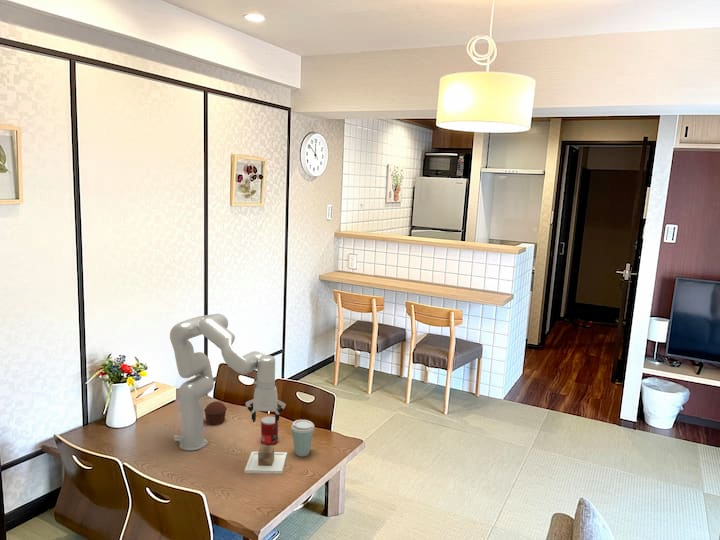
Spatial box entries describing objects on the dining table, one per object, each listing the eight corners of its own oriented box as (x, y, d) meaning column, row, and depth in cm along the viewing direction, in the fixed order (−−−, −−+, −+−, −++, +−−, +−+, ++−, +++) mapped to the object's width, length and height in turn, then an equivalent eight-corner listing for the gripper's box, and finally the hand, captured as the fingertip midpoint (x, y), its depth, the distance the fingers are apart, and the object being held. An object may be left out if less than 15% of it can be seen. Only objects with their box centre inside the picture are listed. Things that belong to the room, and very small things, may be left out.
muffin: (202, 418, 282) (202, 400, 281) (224, 415, 287) (224, 397, 285) (206, 428, 272) (206, 409, 270) (228, 424, 276) (228, 406, 275)
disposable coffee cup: (304, 445, 257) (304, 415, 254) (319, 453, 249) (319, 423, 247) (286, 452, 249) (286, 422, 247) (300, 461, 242) (301, 430, 239)
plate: (244, 473, 231) (244, 470, 231) (251, 454, 247) (251, 451, 247) (282, 474, 231) (282, 470, 231) (287, 455, 247) (286, 452, 247)
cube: (258, 465, 236) (258, 452, 235) (260, 458, 242) (260, 446, 241) (271, 465, 236) (271, 453, 235) (274, 458, 242) (274, 446, 241)
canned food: (274, 446, 255) (274, 424, 254) (258, 444, 257) (258, 422, 255) (280, 438, 263) (280, 417, 261) (264, 436, 264) (264, 415, 263)
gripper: (244, 386, 229) (243, 424, 232) (284, 388, 230) (284, 426, 233) (247, 380, 237) (247, 416, 240) (287, 381, 237) (286, 418, 240)
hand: (265, 421), depth 236 cm, fingers open, 9 cm apart
